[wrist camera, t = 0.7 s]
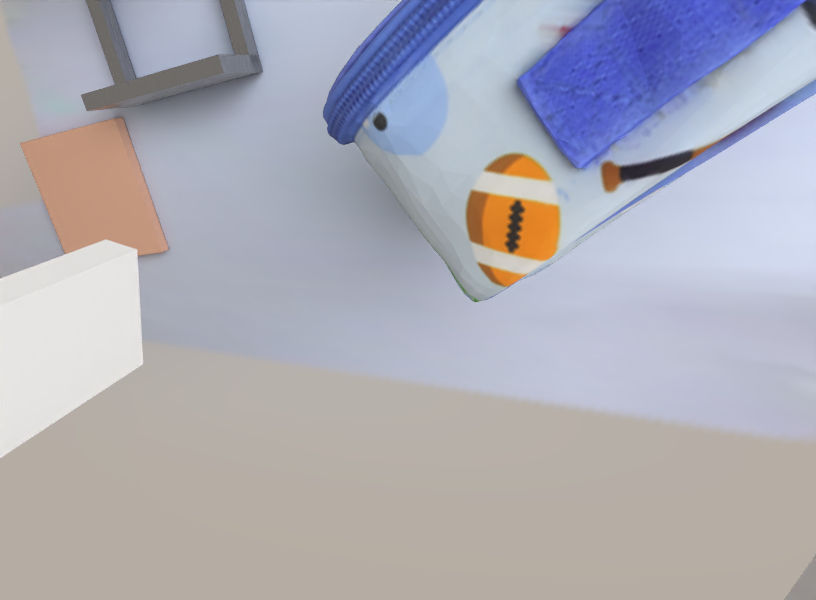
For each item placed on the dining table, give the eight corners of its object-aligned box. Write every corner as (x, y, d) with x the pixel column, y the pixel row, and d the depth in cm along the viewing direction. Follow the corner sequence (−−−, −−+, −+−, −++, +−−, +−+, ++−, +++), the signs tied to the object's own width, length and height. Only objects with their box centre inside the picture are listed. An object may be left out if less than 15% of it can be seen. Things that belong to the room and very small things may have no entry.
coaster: (29, 141, 45) (19, 143, 45) (122, 117, 42) (114, 118, 41) (77, 262, 49) (69, 265, 48) (168, 249, 45) (161, 252, 44)
